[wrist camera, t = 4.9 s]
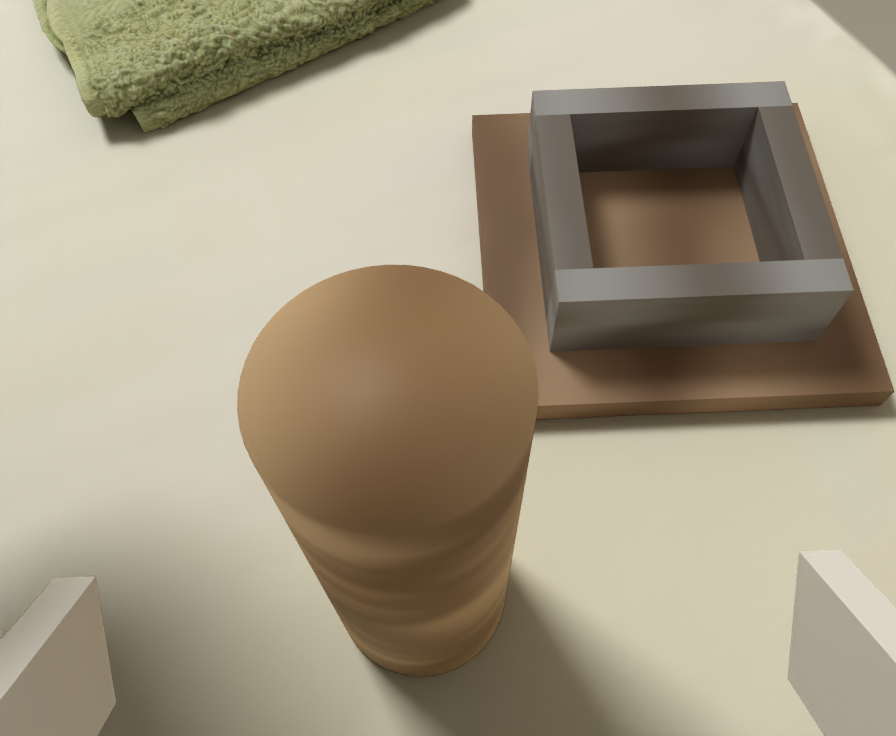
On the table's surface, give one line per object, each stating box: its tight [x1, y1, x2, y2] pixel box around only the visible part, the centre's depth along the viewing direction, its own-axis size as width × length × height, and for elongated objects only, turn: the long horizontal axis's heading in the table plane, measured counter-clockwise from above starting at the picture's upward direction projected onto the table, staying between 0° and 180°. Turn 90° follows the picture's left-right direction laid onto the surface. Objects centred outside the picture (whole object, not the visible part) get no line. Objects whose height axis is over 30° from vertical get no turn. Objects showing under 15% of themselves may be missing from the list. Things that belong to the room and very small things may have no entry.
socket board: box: [472, 81, 894, 419], centre depth 29 cm, size 13×13×4 cm
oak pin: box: [237, 265, 539, 676], centre depth 20 cm, size 5×5×13 cm
